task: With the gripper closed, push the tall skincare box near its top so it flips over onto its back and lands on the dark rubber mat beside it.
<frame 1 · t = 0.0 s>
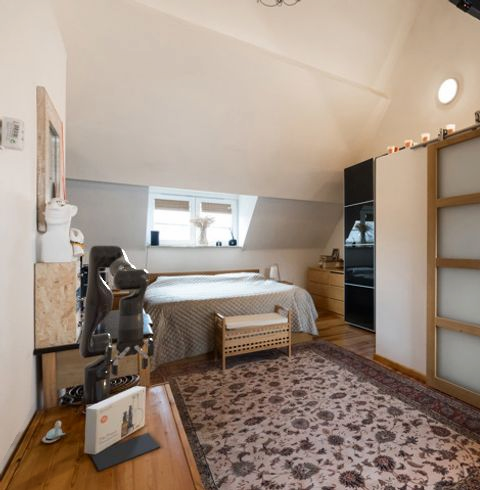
hand: (129, 371, 123), 29 cm above the table, tool pointing down, fingers open, 8 cm apart
dark rubber mat: (125, 451, 125), on the table
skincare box: (117, 439, 132), on the table, touching dark rubber mat
pacifier: (53, 439, 131), on the table
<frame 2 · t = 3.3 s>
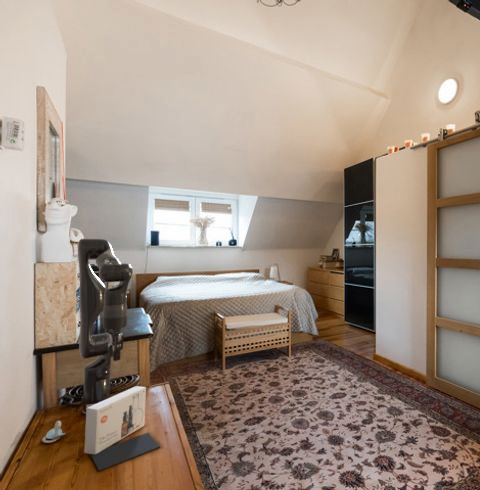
hand: (114, 358, 135), 29 cm above the table, tool pointing down, fingers open, 5 cm apart
nothing on the table moved.
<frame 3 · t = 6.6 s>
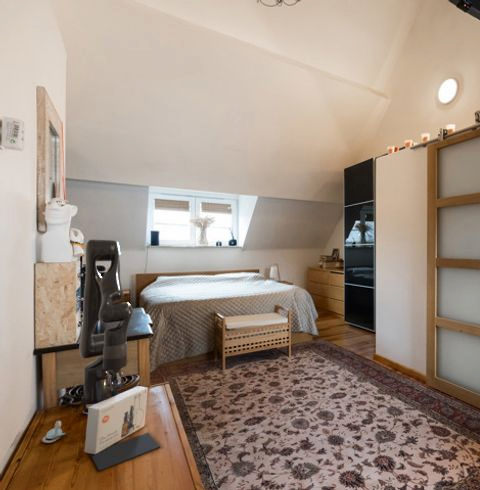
hand: (114, 399, 135), 14 cm above the table, tool pointing down, fingers closed
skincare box: (117, 439, 132), on the table, touching dark rubber mat, gripper
everything else where it was.
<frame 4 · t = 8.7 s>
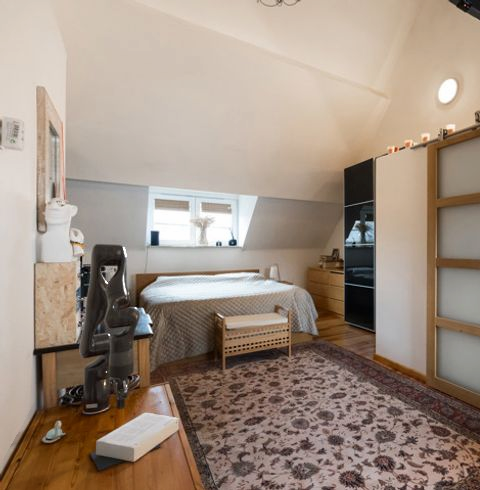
hand: (120, 408, 129), 13 cm above the table, tool pointing down, fingers closed
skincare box: (121, 432, 131), point 3 cm above the table, touching dark rubber mat
everything else where it was.
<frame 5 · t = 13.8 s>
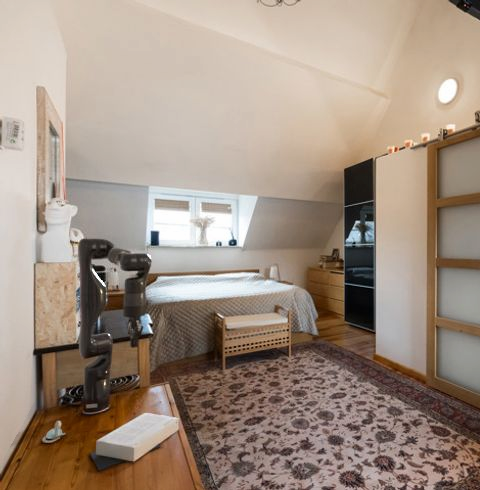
hand: (134, 347, 138), 33 cm above the table, tool pointing down, fingers closed
nothing on the table moved.
at the end: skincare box tilted 88°; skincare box inside the target area (5.4 cm from its centre), point 2.9 cm above the table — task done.
